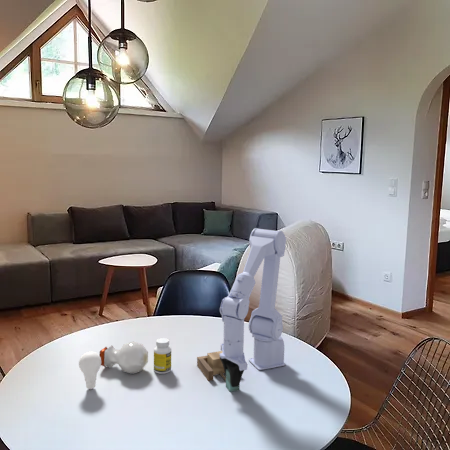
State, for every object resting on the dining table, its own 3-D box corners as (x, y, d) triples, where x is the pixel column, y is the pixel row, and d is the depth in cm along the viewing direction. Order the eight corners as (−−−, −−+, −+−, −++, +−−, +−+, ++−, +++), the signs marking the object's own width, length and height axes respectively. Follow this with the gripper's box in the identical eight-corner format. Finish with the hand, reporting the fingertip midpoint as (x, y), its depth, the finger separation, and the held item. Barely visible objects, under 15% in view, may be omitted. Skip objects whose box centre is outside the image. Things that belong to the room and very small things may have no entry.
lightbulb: (106, 385, 132) (105, 349, 130) (93, 396, 126) (92, 358, 124) (88, 382, 134) (87, 346, 132) (75, 392, 128) (73, 355, 126)
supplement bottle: (168, 375, 139) (168, 344, 137) (151, 373, 140) (151, 343, 138) (173, 367, 144) (173, 337, 143) (157, 365, 145) (157, 336, 144)
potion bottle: (147, 380, 138) (104, 378, 143) (156, 351, 145) (115, 351, 150) (136, 364, 132) (91, 363, 137) (146, 335, 139) (103, 335, 144)
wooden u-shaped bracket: (226, 361, 149) (226, 352, 149) (239, 375, 139) (239, 366, 139) (197, 366, 145) (197, 357, 145) (208, 381, 136) (208, 371, 135)
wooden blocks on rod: (221, 365, 146) (222, 349, 145) (242, 389, 131) (243, 371, 130) (207, 368, 144) (207, 351, 143) (226, 392, 129) (226, 374, 128)
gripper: (211, 331, 134) (210, 374, 136) (230, 350, 121) (229, 398, 123) (233, 327, 137) (232, 370, 139) (254, 346, 124) (253, 393, 126)
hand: (232, 383), depth 131 cm, fingers closed on wooden blocks on rod, 3 cm apart
